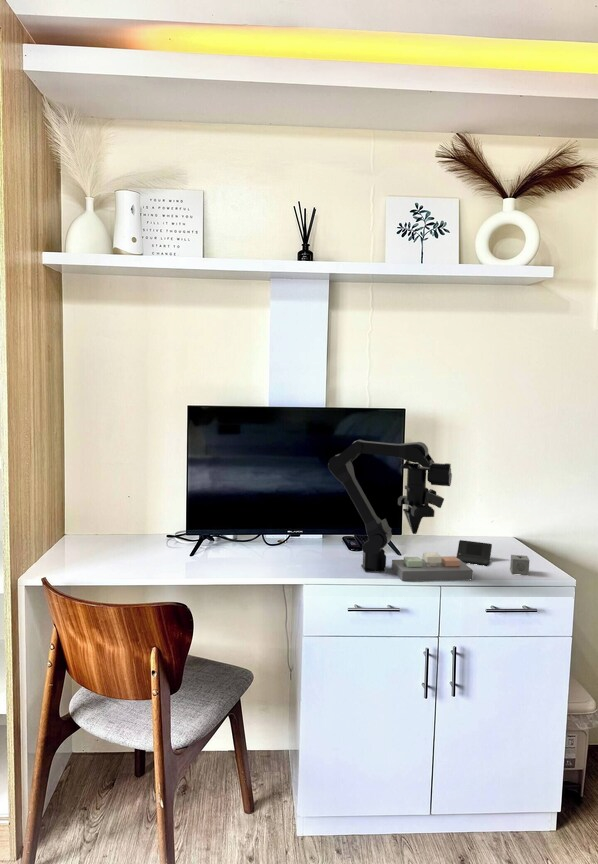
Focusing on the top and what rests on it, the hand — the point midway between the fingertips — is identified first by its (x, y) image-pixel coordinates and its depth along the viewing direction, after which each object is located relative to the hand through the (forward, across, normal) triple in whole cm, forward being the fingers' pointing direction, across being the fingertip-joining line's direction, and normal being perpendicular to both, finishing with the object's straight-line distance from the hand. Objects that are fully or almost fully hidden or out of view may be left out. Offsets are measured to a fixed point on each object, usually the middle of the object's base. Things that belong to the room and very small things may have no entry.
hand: (414, 533), depth 214 cm
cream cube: (+11, 0, -6) cm, 13 cm away
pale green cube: (+13, 0, 0) cm, 13 cm away
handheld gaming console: (+14, +14, -25) cm, 31 cm away
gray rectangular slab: (+13, 0, -6) cm, 14 cm away
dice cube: (+13, 0, -35) cm, 37 cm away
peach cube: (+13, 0, -12) cm, 17 cm away
